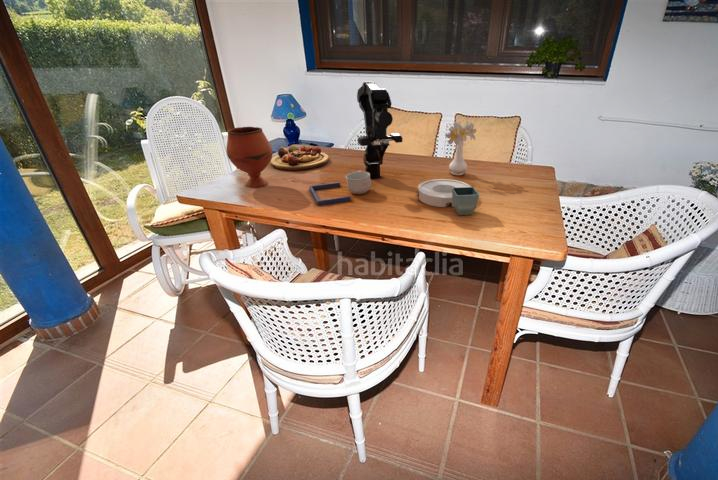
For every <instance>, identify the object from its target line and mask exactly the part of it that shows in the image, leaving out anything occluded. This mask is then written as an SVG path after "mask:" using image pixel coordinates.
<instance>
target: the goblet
mask: <svg viewBox="0 0 718 480" xmlns="http://www.w3.org/2000/svg"><path fill="white" fill-rule="evenodd" d="M226 131H227V142H226V155H227V159H229V161H230V162H231V164H232V165H233V166H235V167H236V168H237V169H238V170H240V171H242V172H244V173H245V174H246V173H247V176H248V177H249V179H248V181H246V186H247V187H249V188H258V187H264V186H265V185H266V184H267V182H266V180H265V179H264V178H263V177H262V176H261V175H262V172H263V171H264V170H265V169H266V168H267V167H268V166H269V164H271V163H270V161H271V159H272V158H273V148H272V146H271V143H270V141H269V140H268V138H267V136H266V135H265V133H264V132H263V128H262V127H258V126H241V127H234V128H233V127H232V128H229V129H227V130H226Z"/></svg>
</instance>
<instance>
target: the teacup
mask: <svg viewBox="0 0 718 480" xmlns="http://www.w3.org/2000/svg"><path fill="white" fill-rule="evenodd" d="M345 181H346V187H347V189H348V191H349V192H351V193H352V194H353V195H363V194H366V193H367V192H368V191H369V190H370V189H371V184H372V182H371V179H370V173H368V172H365V170H364V171H363V170H358V171H351V172H349V173H346V175H345Z"/></svg>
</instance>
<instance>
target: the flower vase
mask: <svg viewBox="0 0 718 480" xmlns="http://www.w3.org/2000/svg"><path fill="white" fill-rule="evenodd" d="M474 126H475V125H474V123H472V122H469V121H468V120H467V119H465V125H464V126H463V125H462V124H461V121H454V122H453V125H451V126H450V127H449V128H448V131H449V133H445V135H444V136H445V137H446V138H447V139H449V140H448V142H447V143H448V145H449V146H450V145H452V144H453V143H454V144H455V145H456V150H455V156H454V158H453V160H452V161H451V162H450V163H449V165H448V169H449V171H450V172H451V175H453V176H464V175H465V172H466V171H467V170H468V164H467V162H466V161H465V159H464V153H463V152H464V143H465V142H466V141H467V137H469V139H470V140H471V141H472V140H473V141H475V140H476V135H475V134H476V133H477V129H476V128H474Z"/></svg>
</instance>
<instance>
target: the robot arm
mask: <svg viewBox="0 0 718 480" xmlns="http://www.w3.org/2000/svg"><path fill="white" fill-rule="evenodd" d="M391 100H392V99H391V95H390V93H389V92H388V90H387V88H380V87H378V86H377V84H376V82H374V81H364V82H362V85H361V86H360V87H359V88H358V89H357V93H356V101H357V103H358V106H359V109H360V110H361V111H362V113H363V119H364V128H365V135H364V136H363V135H362V136H361V135H360V136H358V137H357V144H358V145H359V146H361V147H365V149H364V154H363V164H364V166H365V168H364V172H368V173H370V180H371V179H379V178H382V175H381V165H383V162H384V156H385V154H386V151H387V150H388V148H389V146H391V143H390V141H394V142H395V143H396V144H397V143H403V135H401V134H399V133H398V132H395V133H389V136H388V131H387V130H388V127H390V126H391V125H392V123H393V120H394V119H393V114H391V112H389V109H392V101H391Z"/></svg>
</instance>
